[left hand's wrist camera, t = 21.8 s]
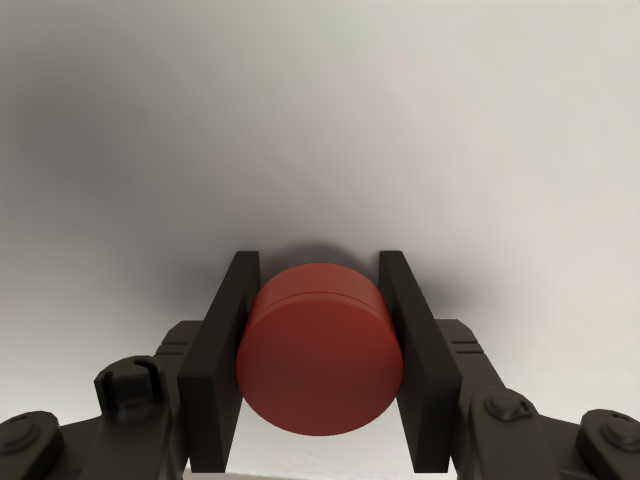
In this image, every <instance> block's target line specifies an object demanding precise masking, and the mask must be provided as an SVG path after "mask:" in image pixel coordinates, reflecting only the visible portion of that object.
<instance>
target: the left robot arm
mask: <svg viewBox="0 0 640 480" xmlns="http://www.w3.org/2000/svg"><path fill="white" fill-rule="evenodd" d="M260 289H261V287H260V270H259V254H258V251H237V253H236V255H235V257H234V259H233V261H232V263H231V265H230V267H229V269H228V271H227V273H226V275H225V278H224V280H223V282H222V284H221V286H220V288H219V290H218V292H217V294H216V296H215V298H214V300H213V302H212V304H211V306H210V309H209V311H208V313H207V315H206V317H205V319H204V321H181V322H180V323H178V324H177V325H176V326H174V327H173V328H172V329H170V330H169V331H168V333H167V335H166V336H165V338H164V339H163V341H162V344H161V345H160V346H159V348H158V349H157V351H156V355H154V356H153V357H151V356H132V357H128V358H124V359H121V360H119V361H117V362H115V363H112V364H110V365H109V366H108V367H106V368H105V369H104V370H102V371H101V372H100V373H99V374H98V376H97V377H96V378H95V380H94V384H95V388H96V392H97V396H98V400H99V404H100V408H101V412H102V414H101V416H98V417H95V418H92V419H89V420H85V421H80V422H76V423H72V424H68V425H64V426H59V422H58V419H57V418H56V417H55V416H54V415H53V414H52V413H50V412H45V411H34V412H27V413H24V414H21V415H18V416H15V417H12V418H10V419H8V420H6V421H5V422H3V423H1V424H0V480H183V476H182V475H183V472H184V469H185V466H186V464H187V461H188V458H189V459H190V465H191V471H192V473H225V470H226V465H227V461H228V457H229V453H230V449H231V445H232V441H233V437H234V432H235V428H236V424H237V420H238V416H239V412H240V408H241V404H242V399H243V395H242V393H241V391H240V389H239V386H238V383H237V378H236V369H235V362H236V355H237V351H238V347H239V344H240V341H241V338H242V334H243V331H244V328H245V324H246V321H247V318H248V315H249V311H250V308H251V305H252V303H253V301H254V298H255V297H256V295H257V294H258V292H259V291H260ZM378 289H379V290H380V292H381V293H382V295H383V297H384V298H385V300H386V302H387V305H388V308H389V311H390V314H391V317H392V321H393V324H394V327H395V331H396V334H397V337H398V341H399V344H400V347H401V351H402V355H403V360H404V370H403V379H402V383H401V386H400V389H399V391H398V393H397V395H396V399H397V403H398V407H399V411H400V415H401V419H402V424H403V428H404V432H405V436H406V440H407V444H408V448H409V452H410V456H411V460H412V465H413V469H414V473H448V467H449V461H450V455H451V458H452V461H453V464H454V467H455V470H456V472H457V475H458V476H457V480H640V422H638V421H637V420H635V419H633V418H631V417H629V416H627V415H624V414H621V413H618V412H615V411H612V410H604V409H596V410H591V411H588V412H587V413H586V414H585V415H583V416H582V420H581V423H580V425H579V424H574V423H570V422H566V421H562V420H557V419H553V418H549V417H546V416H543V415H540V414H538V412H537V410H536V409H535V407H534V405H533V404H532V403H531V402H530V401H529V400H528V399H526V398H525V397H524V396H523V395H521V394H519V393H517V392H515V391H513V390H511V389H508V388H506V387H505V385H504V384H503V382H502V381H501V379H500V377H499V376H498V374H497V372H496V371H495V369H494V367H493V366H492V364H491V362H490V361H489V359H488V357H487V356H486V354H484V351H483V349H482V348H481V346H480V344H478V341H477V339H476V338H475V336H474V334H473V333H472V331H471V330H470V329H469V328H468V327H466V326H465V325H464V324H463V323H461V322H460V321H459V320H457V319H434V317H433V315H432V313H431V311H430V309H429V306H428V304H427V302H426V300H425V298H424V296H423V294H422V292H421V290H420V288H419V286H418V284H417V282H416V280H415V278H414V276H413V273H412V271H411V269H410V267H409V265H408V263H407V261H406V259H405V257H404V255H403V253H402V252H381V253H380V270H379V287H378Z"/></svg>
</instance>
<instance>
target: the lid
mask: <svg viewBox="0 0 640 480" xmlns="http://www.w3.org/2000/svg"><path fill="white" fill-rule="evenodd" d="M235 369H236V378H237V383H238V386H239V389H240V391H241V393H242V395H243V397H244V399H245V400H246V402H247V403H248V404H249V405H250V407H251V408H252V409H253V410H254V411H255V412H256V413H257V414H258V415H259V416H261V417H262V418H263V419H265V420H266V421H268V422H269V423H271V424H273V425H274V426H277V427H279V428H281V429H283V430H286V431H289V432H292V433H297V434H301V435H309V436H330V435H337V434H343V433H346V432H350V431H353V430H356V429H358V428H360V427H363V426H365V425H366V424H368V423H370V422H372V421H373V420H374V419H376V418H377V417H379V416H380V415H381V414H382V413H383V412H384V411H385V410H386V409H387V408H388V407H389V406H390V404H391V403H392V402H393V400H394V399H395V397H396V395H397V393H398V391H399V389H400V386H401V383H402V379H403V370H404V360H403V355H402V351H401V347H400V344H399V341H398V337H397V334H396V331H395V327H394V324H393V321H392V317H391V314H390V311H389V308H388V305H387V302H386V300H385V298H384V297H383V295H382V293H381V292H380V290H379V289H378V288H377V287H376V286H375V285H374V284H373V283H372V282H371V281H370V280H369V279H368V278H366V277H365V276H364V275H362V274H360V273H358V272H357V271H355V270H353V269H350V268H348V267H345V266H341V265H337V264H332V263H306V264H302V265H298V266H294V267H292V268H289V269H286V270H284V271H283V272H281V273H279V274H277V275H276V276H274V277H273V278H271V279H270V280H269V281H268V282H267V283H266V284H265V285H264V286H263V287H262V288H261V289H260V291H259V292H258V294H257V295H256V297H255V298H254V301H253V303H252V305H251V308H250V311H249V315H248V318H247V321H246V324H245V328H244V331H243V334H242V338H241V341H240V344H239V347H238V351H237V355H236V362H235Z"/></svg>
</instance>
